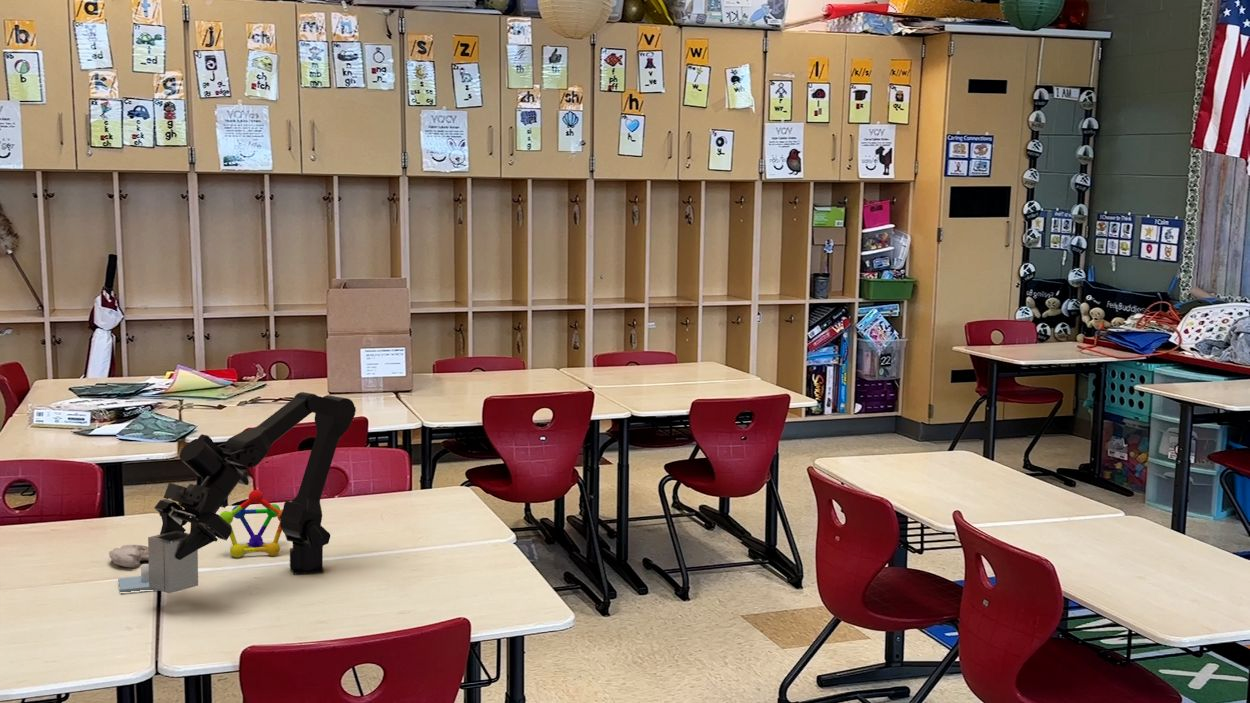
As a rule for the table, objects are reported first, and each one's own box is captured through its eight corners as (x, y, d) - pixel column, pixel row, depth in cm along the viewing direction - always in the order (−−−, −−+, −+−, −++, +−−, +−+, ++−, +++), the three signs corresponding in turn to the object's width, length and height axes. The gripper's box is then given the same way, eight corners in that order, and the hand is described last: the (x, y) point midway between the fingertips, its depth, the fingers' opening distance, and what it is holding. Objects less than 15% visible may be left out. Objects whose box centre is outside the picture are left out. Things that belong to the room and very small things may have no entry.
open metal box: (178, 578, 236) (178, 530, 234) (198, 585, 232) (197, 536, 230) (148, 586, 230) (147, 537, 229) (168, 593, 226) (167, 543, 225)
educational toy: (277, 545, 279) (284, 483, 278) (288, 560, 268) (295, 496, 267) (209, 545, 272) (216, 482, 271) (218, 561, 261) (224, 495, 260)
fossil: (124, 537, 265) (167, 542, 264) (123, 555, 265) (165, 560, 264) (96, 548, 253) (141, 554, 252) (95, 567, 253) (139, 573, 252)
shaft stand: (169, 577, 249) (169, 557, 249) (172, 589, 242) (172, 568, 242) (118, 582, 245) (117, 562, 244) (120, 594, 238) (120, 573, 237)
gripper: (162, 460, 237) (112, 524, 229) (218, 474, 226) (167, 542, 218) (197, 491, 244) (149, 554, 236) (252, 506, 233) (205, 573, 226)
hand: (166, 555), depth 229 cm, fingers closed on open metal box, 7 cm apart
